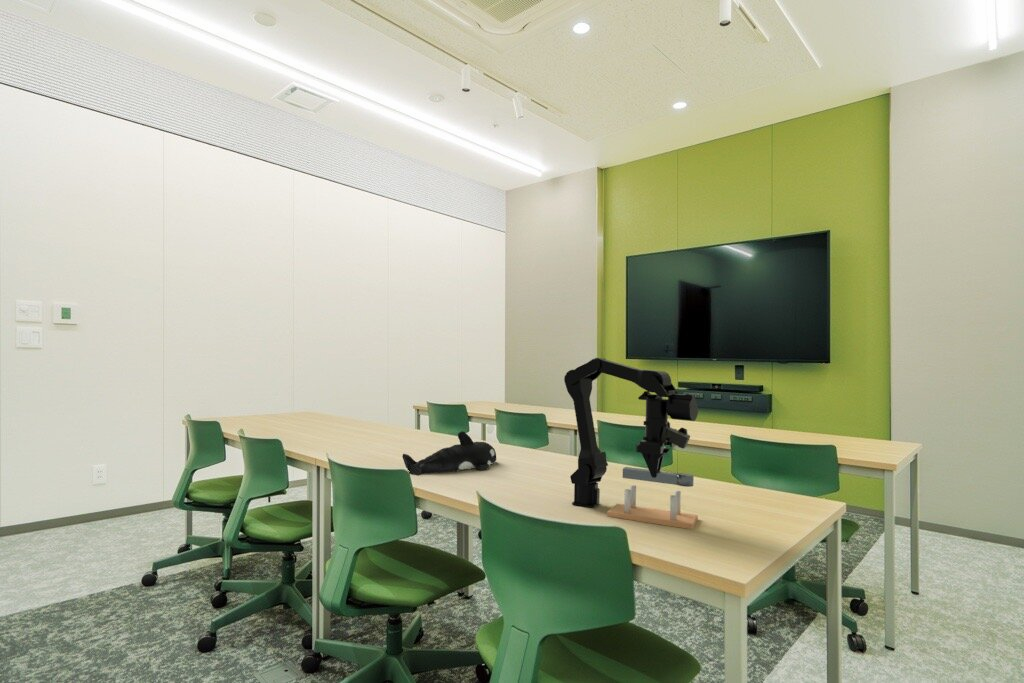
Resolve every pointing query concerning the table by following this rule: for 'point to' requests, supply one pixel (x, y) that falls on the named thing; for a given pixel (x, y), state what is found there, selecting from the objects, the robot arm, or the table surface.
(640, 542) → the table surface
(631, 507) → the peg rack
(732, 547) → the table surface
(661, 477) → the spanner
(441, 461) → the orca plush
